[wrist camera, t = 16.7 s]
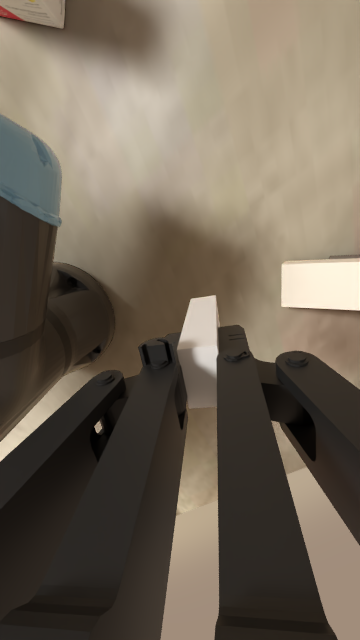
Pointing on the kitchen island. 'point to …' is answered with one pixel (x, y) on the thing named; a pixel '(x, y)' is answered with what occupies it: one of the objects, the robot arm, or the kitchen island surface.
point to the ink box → (35, 11)
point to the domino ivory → (321, 284)
